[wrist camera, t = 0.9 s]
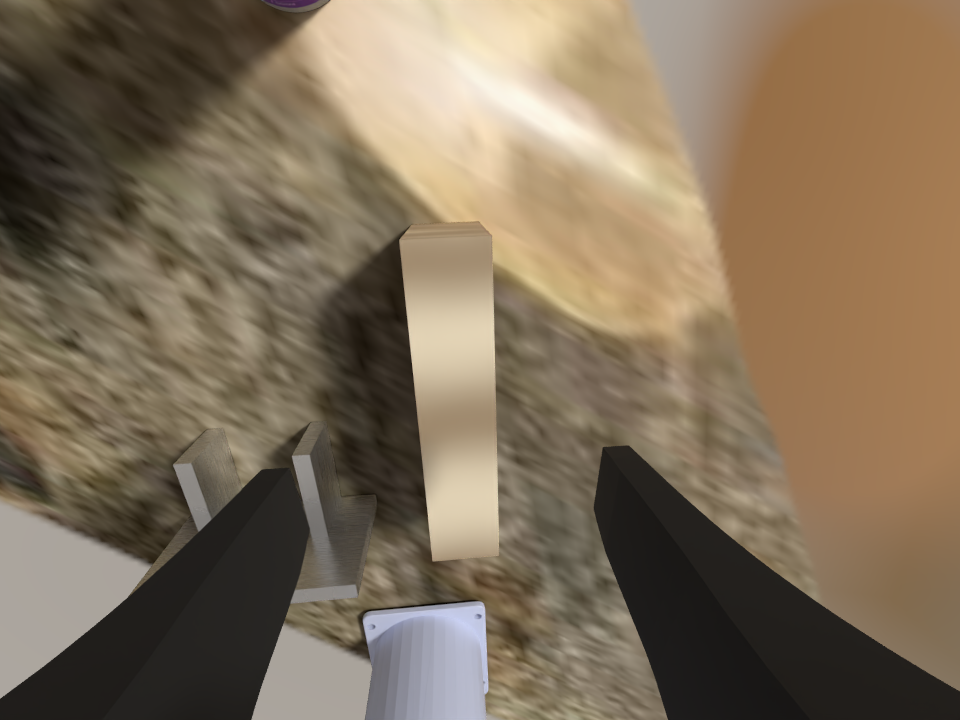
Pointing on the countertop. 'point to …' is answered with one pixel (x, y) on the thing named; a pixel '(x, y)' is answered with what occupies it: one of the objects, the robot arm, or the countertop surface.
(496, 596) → the countertop surface
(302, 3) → the container
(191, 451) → the bracket
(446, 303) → the rail
